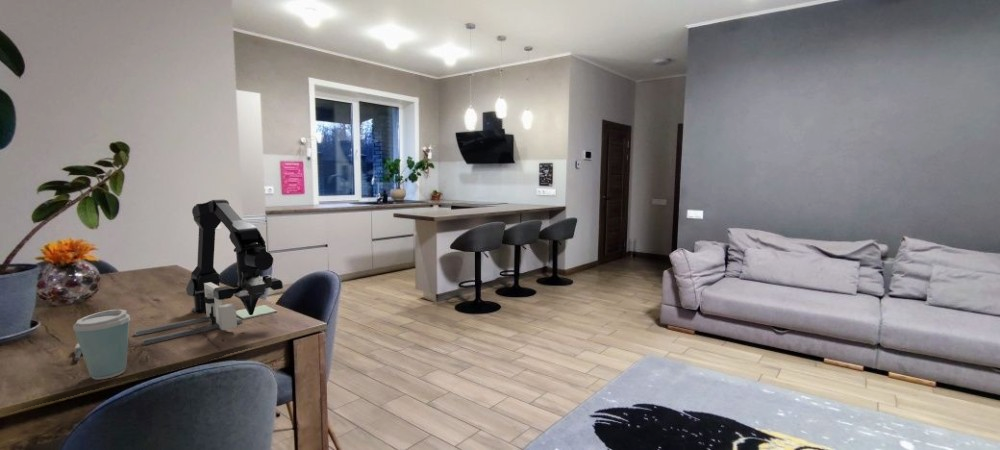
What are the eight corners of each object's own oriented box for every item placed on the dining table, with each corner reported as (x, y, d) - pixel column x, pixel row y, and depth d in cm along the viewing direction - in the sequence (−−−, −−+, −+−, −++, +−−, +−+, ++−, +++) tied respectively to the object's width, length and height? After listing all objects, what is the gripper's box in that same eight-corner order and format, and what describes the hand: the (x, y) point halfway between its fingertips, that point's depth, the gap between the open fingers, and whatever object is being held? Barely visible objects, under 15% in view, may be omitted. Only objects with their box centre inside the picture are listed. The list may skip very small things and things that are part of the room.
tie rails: (135, 334, 140) (134, 331, 140) (229, 315, 159) (229, 311, 159) (143, 345, 132) (143, 341, 131) (242, 322, 150) (242, 319, 150)
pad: (232, 312, 162) (232, 311, 162) (264, 306, 170) (264, 304, 170) (243, 319, 154) (243, 318, 154) (276, 312, 162) (276, 310, 162)
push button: (205, 322, 151) (202, 292, 150) (223, 319, 155) (221, 290, 153) (206, 327, 146) (204, 297, 145) (226, 324, 149) (223, 294, 148)
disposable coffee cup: (104, 385, 106) (97, 323, 104) (66, 382, 108) (58, 320, 106) (146, 366, 117) (140, 309, 115) (111, 364, 118) (105, 307, 117)
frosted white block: (203, 316, 152) (200, 283, 151) (216, 314, 155) (214, 281, 154) (222, 330, 139) (219, 294, 138) (237, 327, 142) (234, 291, 141)
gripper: (222, 275, 132) (226, 327, 134) (288, 265, 146) (291, 313, 147) (210, 270, 140) (214, 319, 141) (274, 261, 153) (277, 306, 155)
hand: (251, 314), depth 146 cm, fingers closed
